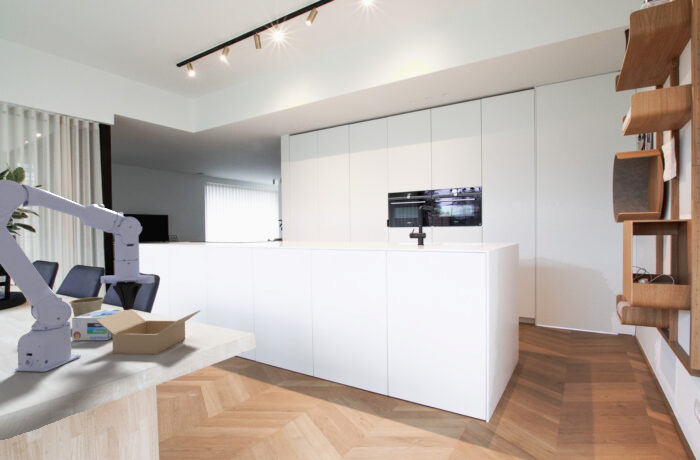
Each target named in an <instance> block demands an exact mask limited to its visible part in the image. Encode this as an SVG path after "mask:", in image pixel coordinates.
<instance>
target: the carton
mask: <svg viewBox="0 0 700 460" xmlns="http://www.w3.org/2000/svg"><path fill="white" fill-rule="evenodd" d="M175 321H176V320H147V319H145V321H144V322H141V323H139V324H136V325H134V326H131V327H129V328H126V329H124V330H121V331H119V332H116V333H114V334H112V336H113V337H112V354H130V355H131V354H133V355H136V354H137V355H158V354H160V353H161V352H163V351H165V350H166V349H168V348H170V347H172V346H174V345H175V344H177V343H179V342H182V341H183V340H185V339H186V321H185V322H183V323H181V324H179V325H177V326H175V327H173V328H171V329H169V330H167V331H165V332H163V333H161V334H159V335H157V334H158V333H159V332H161V331H162V330H163V329H165V328H166V327H168V326H169V325H171V324H172V323H173V322H175Z"/></svg>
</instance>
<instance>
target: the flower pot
mask: <svg viewBox="0 0 700 460" xmlns="http://www.w3.org/2000/svg"><path fill="white" fill-rule="evenodd" d="M104 300H105V297H102V296H95V297H94V296H93V297H92V296H91V297H84V298H78V299H73V300H71V301H69V302H68V304H69V305H70V307H71V309H72V313H73V318H74V317H77V316H81V315H84V314H87V313H91V312H94V311H97V310H102V305H103V302H104Z"/></svg>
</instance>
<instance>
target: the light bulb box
mask: <svg viewBox="0 0 700 460" xmlns="http://www.w3.org/2000/svg"><path fill="white" fill-rule="evenodd" d="M121 311H124V310H123V309H101V310H97V311H94V312H91V313H87V314H84V315H81V316H77V317H74V316H73V317H72V318H71V341H108V340H110V339H113V336H112V333H110V332H109V331H108V330H107V329H106V328H104V327H103V326H102V325H101V324H99V323H98V322H97V321H96V319H99V318H102V317H105V316H109V315H112V314H115V313H118V312H121Z"/></svg>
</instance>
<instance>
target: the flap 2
mask: <svg viewBox="0 0 700 460" xmlns="http://www.w3.org/2000/svg"><path fill="white" fill-rule="evenodd" d="M200 312H201V309H200V310H197V311H195V312H193V313H191V314H189V315H186V316H184V317H182V318H180V319H178V320H174V321H175V322H173V323H172V324H171V325H169V326H168V327H166V328H165V329H163V330H162V331H161V332H159V333H158V334H157V335H159V334H161V333H163V332H165V331H167V330H169V329H171V328H173V327H175V326H177V325H179V324H181V323H183V322H185V323H186V322H187V321H188V320H190V319H191V318H192V317H194V316H195V315H197V314H198V313H200Z"/></svg>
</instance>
